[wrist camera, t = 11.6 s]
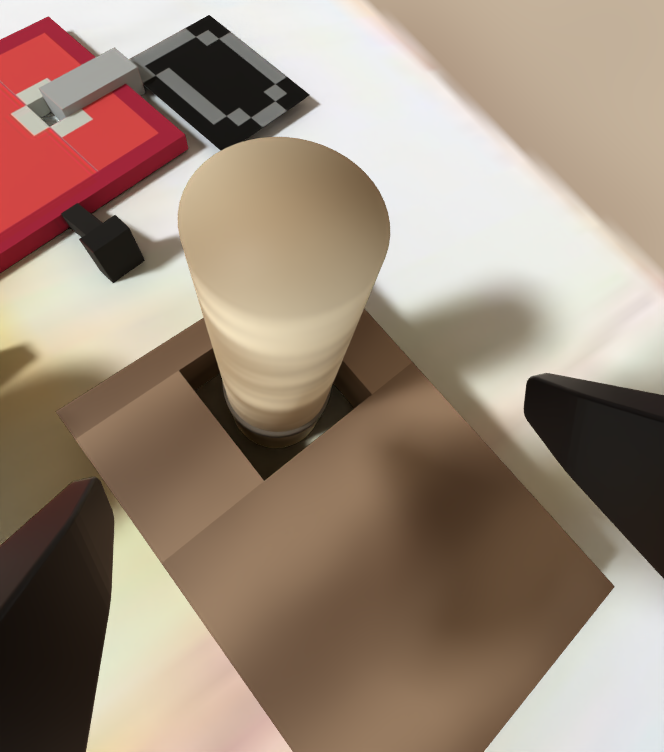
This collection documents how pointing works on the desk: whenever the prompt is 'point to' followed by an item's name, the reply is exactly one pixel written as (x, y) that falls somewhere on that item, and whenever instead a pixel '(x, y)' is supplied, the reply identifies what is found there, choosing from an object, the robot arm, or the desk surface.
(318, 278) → the birch dowel
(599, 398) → the robot arm
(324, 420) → the desk surface
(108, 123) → the red board with handle
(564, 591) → the walnut board
